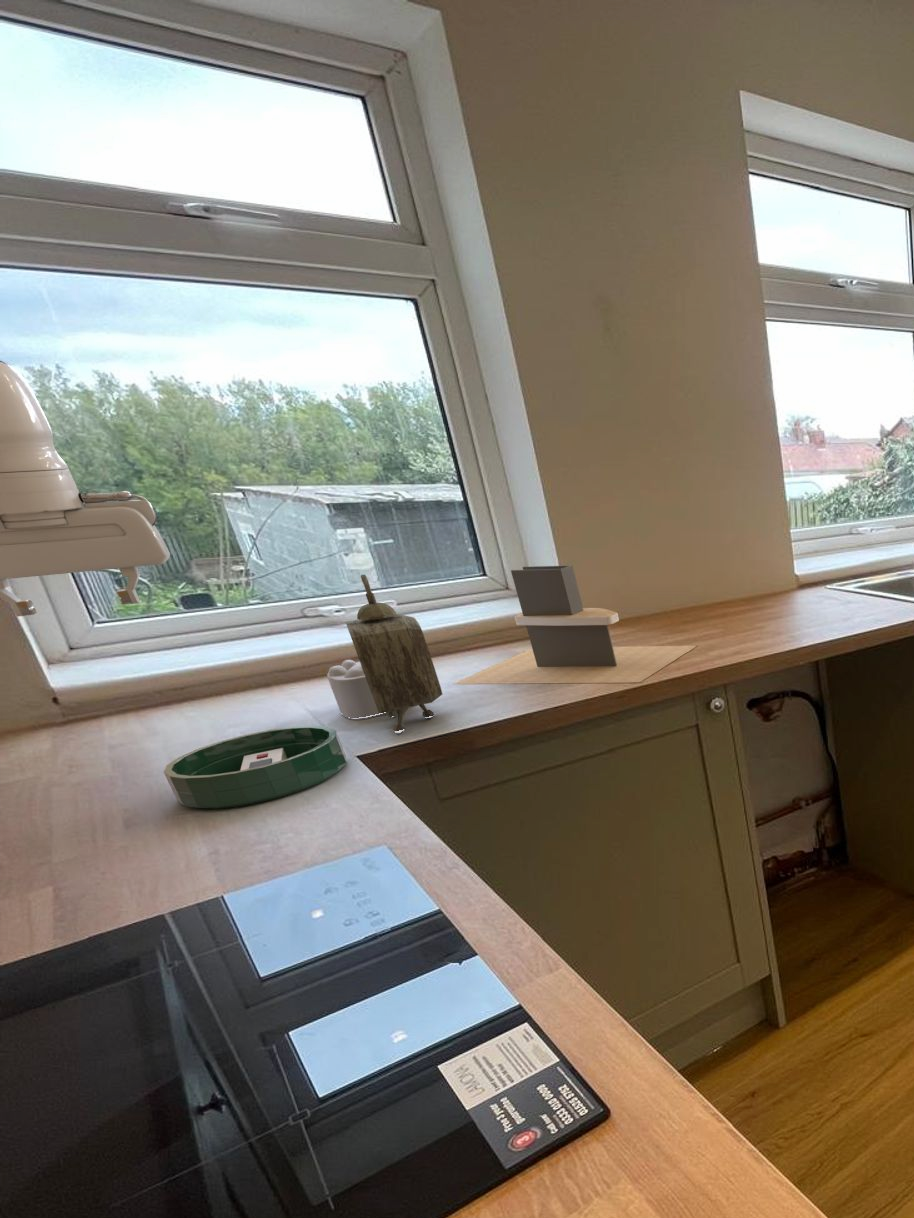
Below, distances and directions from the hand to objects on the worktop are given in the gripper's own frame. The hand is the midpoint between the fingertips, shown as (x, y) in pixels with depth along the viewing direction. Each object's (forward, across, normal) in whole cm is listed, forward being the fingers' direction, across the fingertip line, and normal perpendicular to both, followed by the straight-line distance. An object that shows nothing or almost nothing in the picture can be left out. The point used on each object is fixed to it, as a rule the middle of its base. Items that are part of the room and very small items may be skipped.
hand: (80, 609), depth 104 cm
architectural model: (+26, -60, -27) cm, 71 cm away
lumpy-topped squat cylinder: (+26, -25, -25) cm, 44 cm away
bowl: (+26, -11, +5) cm, 29 cm away
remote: (+26, -11, +5) cm, 28 cm away
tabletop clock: (+26, -30, -10) cm, 41 cm away
